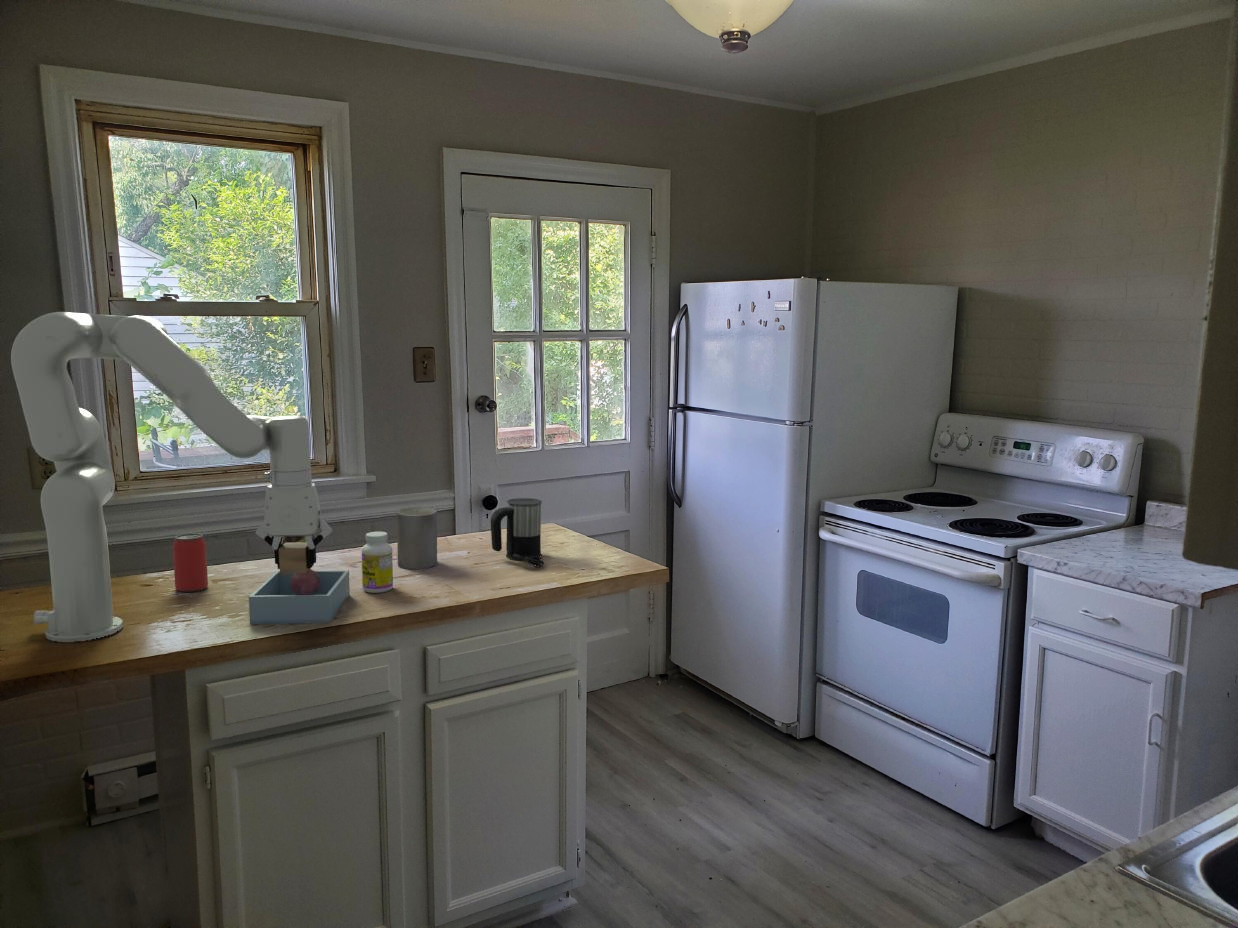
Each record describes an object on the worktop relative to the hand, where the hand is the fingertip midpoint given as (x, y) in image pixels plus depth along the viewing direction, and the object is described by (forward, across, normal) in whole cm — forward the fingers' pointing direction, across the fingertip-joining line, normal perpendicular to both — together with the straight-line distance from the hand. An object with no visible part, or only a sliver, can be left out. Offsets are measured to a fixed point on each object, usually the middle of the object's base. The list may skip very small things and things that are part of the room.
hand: (296, 566), depth 176 cm
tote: (+10, 0, +4) cm, 11 cm away
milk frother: (+11, +46, +42) cm, 63 cm away
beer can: (+10, -28, +20) cm, 36 cm away
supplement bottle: (+11, +13, +18) cm, 24 cm away
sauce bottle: (+11, -5, +19) cm, 22 cm away
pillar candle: (+11, +19, +39) cm, 44 cm away
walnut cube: (+1, 0, 0) cm, 1 cm away
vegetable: (+10, -1, +9) cm, 13 cm away
